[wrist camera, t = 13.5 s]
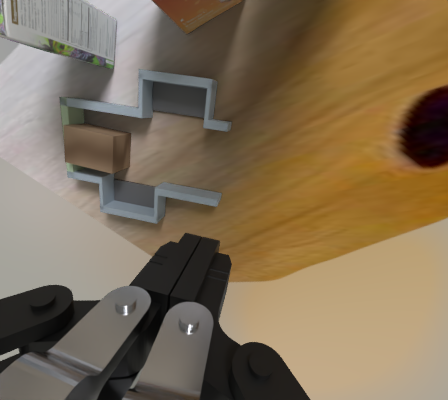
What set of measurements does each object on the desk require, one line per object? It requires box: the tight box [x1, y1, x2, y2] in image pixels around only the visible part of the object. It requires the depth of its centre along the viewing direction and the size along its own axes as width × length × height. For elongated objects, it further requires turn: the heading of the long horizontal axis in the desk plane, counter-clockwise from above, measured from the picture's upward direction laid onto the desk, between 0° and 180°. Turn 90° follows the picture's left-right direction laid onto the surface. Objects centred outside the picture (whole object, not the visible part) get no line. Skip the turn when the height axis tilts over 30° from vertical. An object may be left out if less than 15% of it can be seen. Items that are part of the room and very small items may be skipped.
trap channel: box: [60, 69, 232, 224], centre depth 34 cm, size 20×22×3 cm
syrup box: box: [0, 0, 116, 69], centre depth 25 cm, size 6×6×14 cm
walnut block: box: [63, 123, 131, 174], centre depth 34 cm, size 5×7×4 cm
